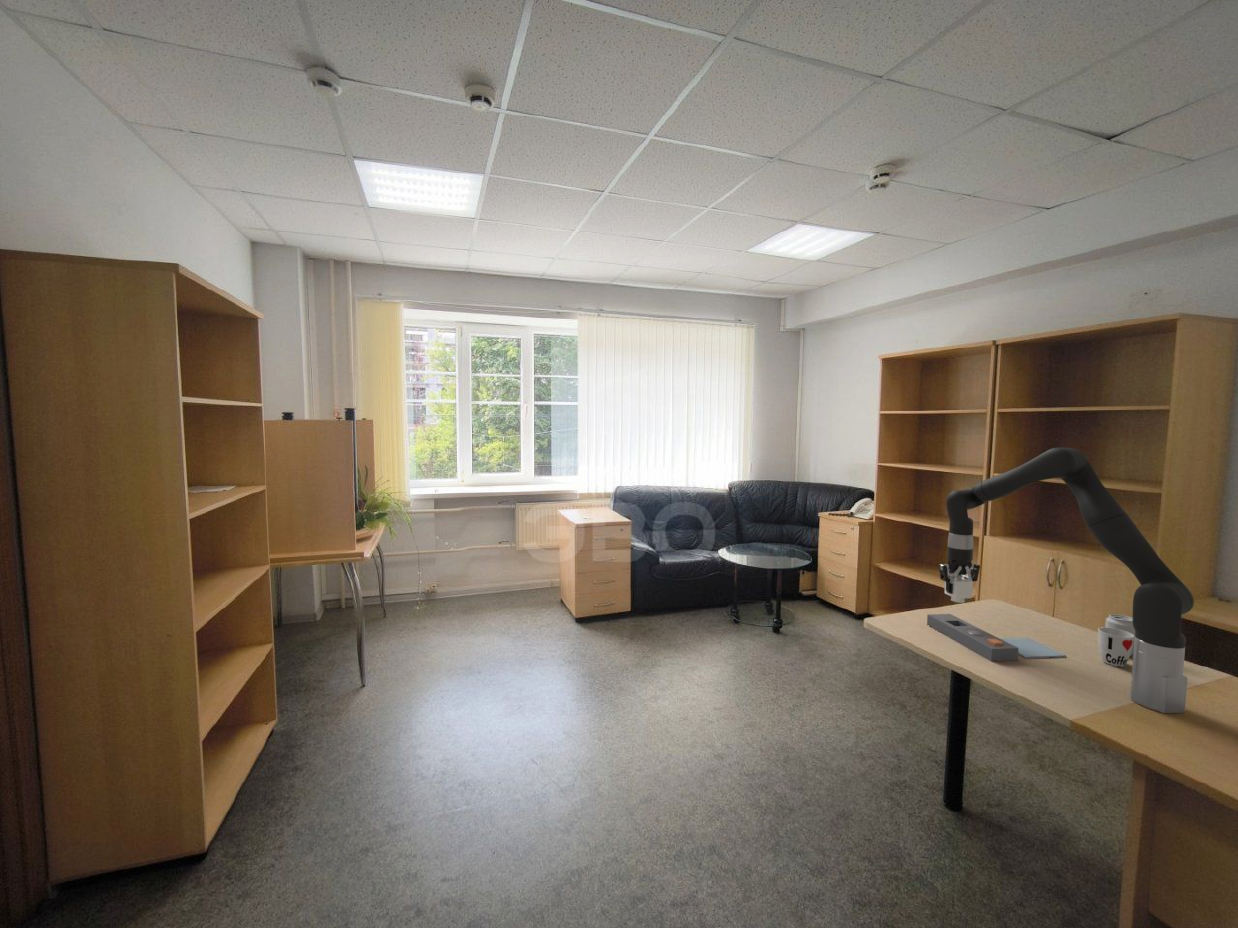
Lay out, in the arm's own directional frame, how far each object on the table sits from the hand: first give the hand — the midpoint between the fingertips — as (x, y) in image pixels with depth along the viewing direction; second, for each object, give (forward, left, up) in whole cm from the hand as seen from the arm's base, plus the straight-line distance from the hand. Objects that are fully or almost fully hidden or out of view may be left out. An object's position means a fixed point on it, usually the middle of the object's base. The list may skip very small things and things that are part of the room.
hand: (958, 592), depth 182 cm
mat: (-13, -15, -15) cm, 25 cm away
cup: (-25, -33, -15) cm, 44 cm away
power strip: (-6, 0, -15) cm, 16 cm away
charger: (0, 0, -3) cm, 3 cm away
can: (-18, -43, -15) cm, 49 cm away
